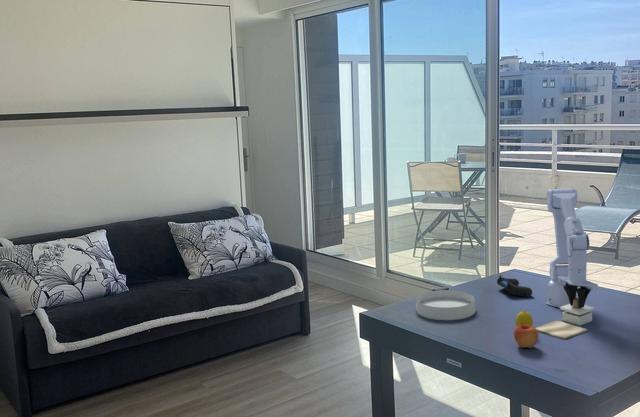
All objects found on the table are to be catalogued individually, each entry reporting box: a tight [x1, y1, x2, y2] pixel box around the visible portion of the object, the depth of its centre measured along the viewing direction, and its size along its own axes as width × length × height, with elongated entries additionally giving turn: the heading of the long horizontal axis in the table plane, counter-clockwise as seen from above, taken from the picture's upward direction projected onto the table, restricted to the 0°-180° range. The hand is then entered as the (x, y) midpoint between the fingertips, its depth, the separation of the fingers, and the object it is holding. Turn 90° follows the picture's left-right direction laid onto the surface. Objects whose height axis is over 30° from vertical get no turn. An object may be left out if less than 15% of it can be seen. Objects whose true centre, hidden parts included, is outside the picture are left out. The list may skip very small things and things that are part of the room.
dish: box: [415, 289, 476, 321], centre depth 243 cm, size 22×22×5 cm
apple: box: [513, 323, 539, 349], centre depth 204 cm, size 7×7×8 cm
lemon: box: [515, 310, 534, 328], centre depth 215 cm, size 6×6×8 cm
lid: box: [559, 297, 595, 315], centre depth 224 cm, size 8×8×5 cm
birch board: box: [535, 320, 588, 341], centre depth 217 cm, size 12×12×1 cm
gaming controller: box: [496, 275, 533, 298], centre depth 260 cm, size 17×6×10 cm
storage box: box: [561, 311, 593, 327], centre depth 224 cm, size 7×7×3 cm
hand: (577, 306), depth 224 cm, fingers closed on lid, 3 cm apart
